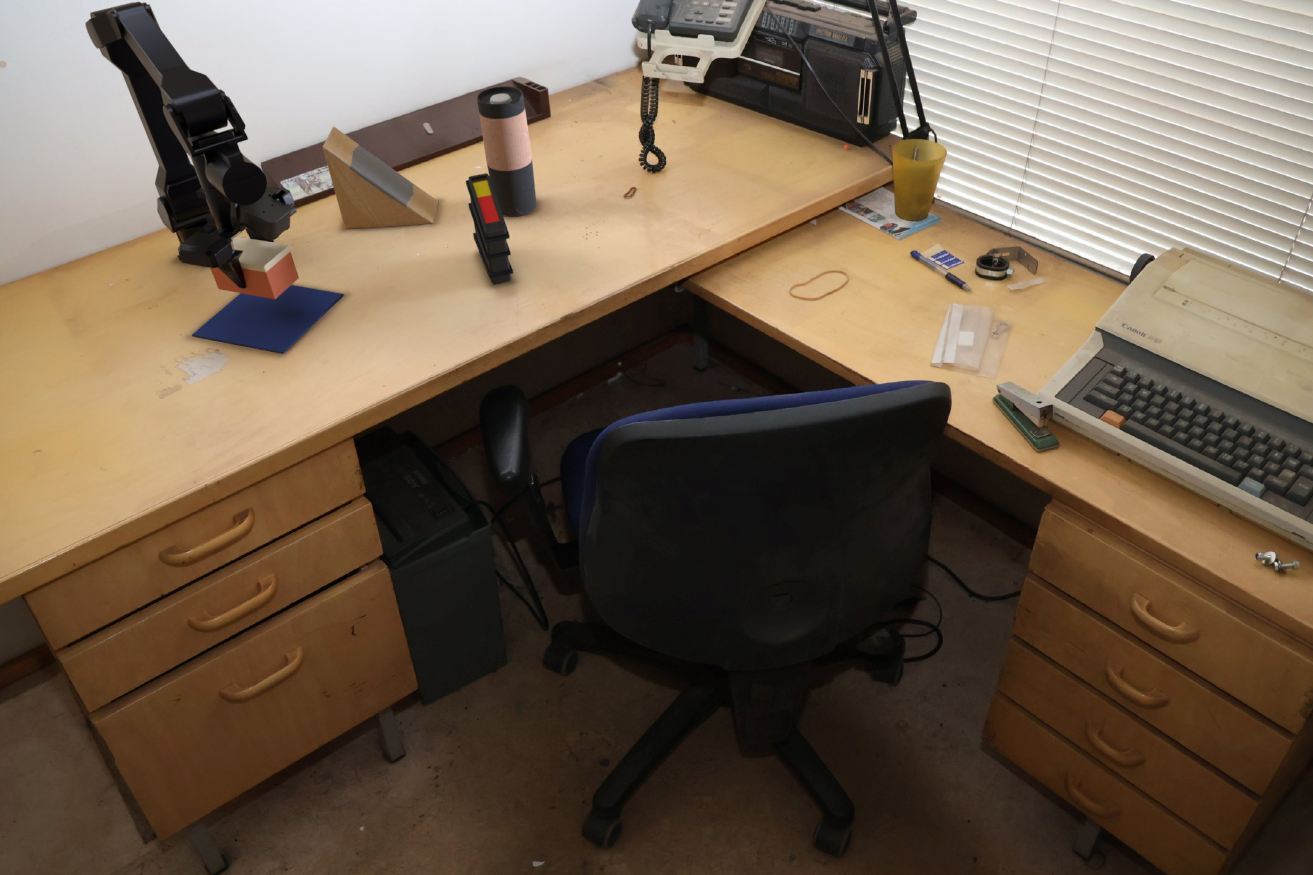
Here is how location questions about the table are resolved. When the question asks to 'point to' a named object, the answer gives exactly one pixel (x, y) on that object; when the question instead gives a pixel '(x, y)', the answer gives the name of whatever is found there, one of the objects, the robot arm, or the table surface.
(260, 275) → the box
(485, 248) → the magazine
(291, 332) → the blue cloth
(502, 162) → the travel mug
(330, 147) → the sandwich container
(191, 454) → the table surface
